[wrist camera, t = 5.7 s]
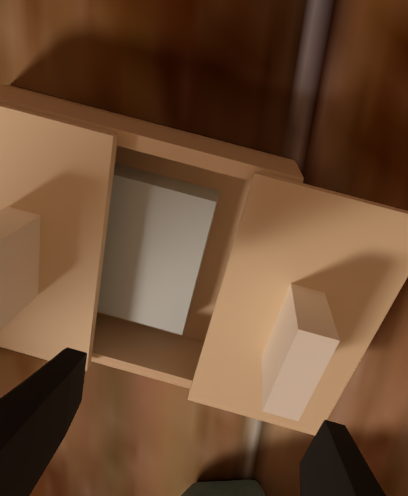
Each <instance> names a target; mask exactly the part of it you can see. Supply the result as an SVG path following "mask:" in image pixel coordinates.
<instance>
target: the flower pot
mask: <svg viewBox="0 0 408 496" xmlns="http://www.w3.org/2000/svg"><path fill="white" fill-rule="evenodd" d="M181 496H266V495H265V493H264V491H263V490H262V488H261V486H260V485H259V483H258V482H257V481H256V480H251V479H249V480H232V481H211V482H196V483H194V484H192V485H191V486H190V487H189V488H188V489H187V490H186V491H185V492H184V493H183V494H182V495H181Z"/></svg>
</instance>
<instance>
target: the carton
mask: <svg viewBox="0 0 408 496" xmlns="http://www.w3.org/2000/svg"><path fill="white" fill-rule="evenodd" d="M0 103H2V104H6V105H10V106H13V107H17V108H21V109H25V110H28V111H32V112H36V113H40V114H44V115H47V116H51V117H55V118H59V119H62V120H66V121H70V122H74V123H78V124H81V125H85V126H89V127H93V128H96V129H100V130H104V131H108V132H112V133H115V134H118V141H117V149H116V157H115V166H114V174H113V183H112V191H111V199H110V208H109V216H108V225H107V233H106V241H105V250H104V258H103V266H102V275H101V283H100V292H99V300H98V308H97V317H96V325H95V334H94V342H93V350H92V359H91V361H93V362H96V363H100V364H103V365H107V366H110V367H114V368H118V369H121V370H125V371H128V372H132V373H135V374H139V375H142V376H146V377H150V378H153V379H157V380H160V381H164V382H167V383H171V384H174V385H178V386H182V387H185V388H189V389H190V388H191V384H192V381H193V378H194V374H195V371H196V368H197V364H198V361H199V357H200V354H201V351H202V347H203V344H204V341H205V337H206V334H207V331H208V327H209V324H210V320H211V317H212V314H213V310H214V307H215V304H216V300H217V297H218V294H219V290H220V287H221V283H222V280H223V277H224V273H225V270H226V267H227V263H228V260H229V257H230V253H231V250H232V246H233V243H234V240H235V236H236V233H237V230H238V226H239V223H240V220H241V216H242V213H243V210H244V206H245V203H246V199H247V196H248V193H249V189H250V186H251V183H252V179H253V176H254V173H255V171H259V172H263V173H267V174H270V175H274V176H278V177H282V178H286V179H289V180H293V181H297V182H301V183H303V180H304V178H303V176H302V174H301V172H300V169H299V167H298V165H297V163H296V161H295V160H293V159H289V158H285V157H281V156H277V155H274V154H270V153H266V152H262V151H258V150H255V149H251V148H247V147H243V146H239V145H236V144H232V143H228V142H224V141H220V140H217V139H213V138H209V137H205V136H201V135H198V134H194V133H190V132H186V131H182V130H179V129H175V128H171V127H167V126H163V125H160V124H156V123H152V122H148V121H144V120H141V119H137V118H133V117H129V116H125V115H122V114H118V113H114V112H110V111H106V110H103V109H99V108H95V107H91V106H87V105H84V104H80V103H76V102H72V101H68V100H65V99H61V98H57V97H53V96H49V95H46V94H42V93H38V92H34V91H30V90H27V89H23V88H19V87H15V86H11V85H0Z"/></svg>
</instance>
